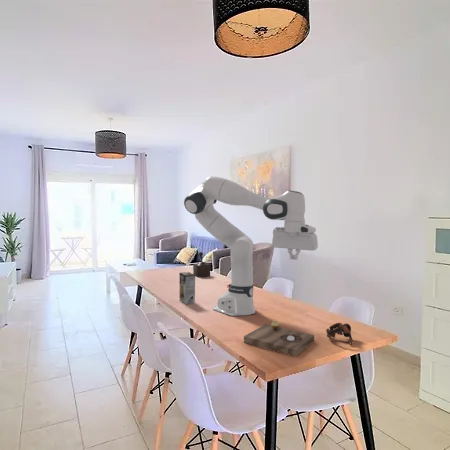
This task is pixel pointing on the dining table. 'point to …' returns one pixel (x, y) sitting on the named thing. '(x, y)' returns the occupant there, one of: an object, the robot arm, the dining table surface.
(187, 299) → the coffee box
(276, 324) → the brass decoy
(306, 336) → the seat plate
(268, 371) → the dining table surface
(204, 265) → the manual coffee grinder
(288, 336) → the steel ball
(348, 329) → the dark brown arched piece
